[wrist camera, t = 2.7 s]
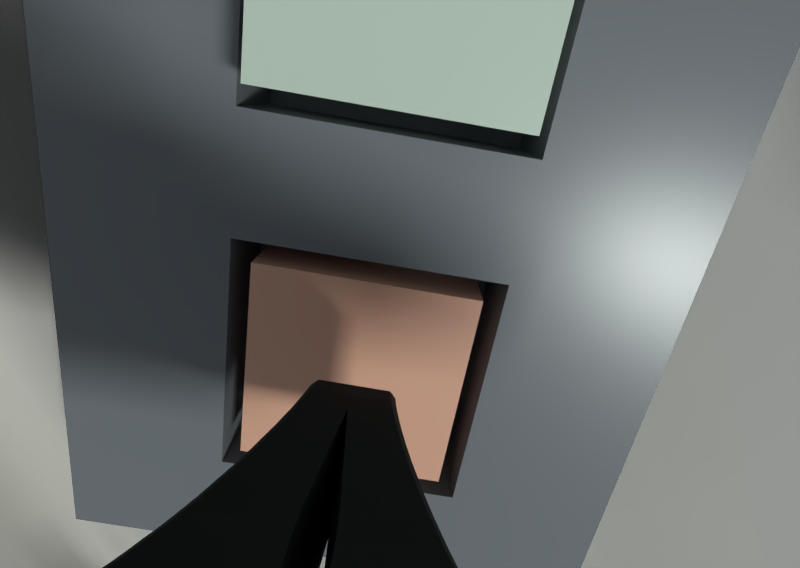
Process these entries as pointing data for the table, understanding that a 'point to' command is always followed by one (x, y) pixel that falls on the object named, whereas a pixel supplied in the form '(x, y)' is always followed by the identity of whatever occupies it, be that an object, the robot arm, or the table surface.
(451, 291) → the terracotta key
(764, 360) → the table surface
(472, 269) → the keypad
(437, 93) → the sage key
